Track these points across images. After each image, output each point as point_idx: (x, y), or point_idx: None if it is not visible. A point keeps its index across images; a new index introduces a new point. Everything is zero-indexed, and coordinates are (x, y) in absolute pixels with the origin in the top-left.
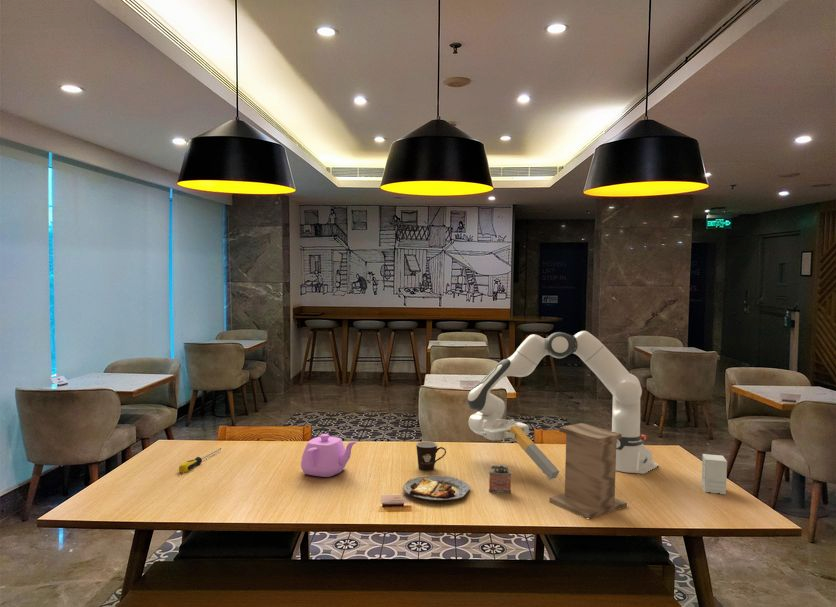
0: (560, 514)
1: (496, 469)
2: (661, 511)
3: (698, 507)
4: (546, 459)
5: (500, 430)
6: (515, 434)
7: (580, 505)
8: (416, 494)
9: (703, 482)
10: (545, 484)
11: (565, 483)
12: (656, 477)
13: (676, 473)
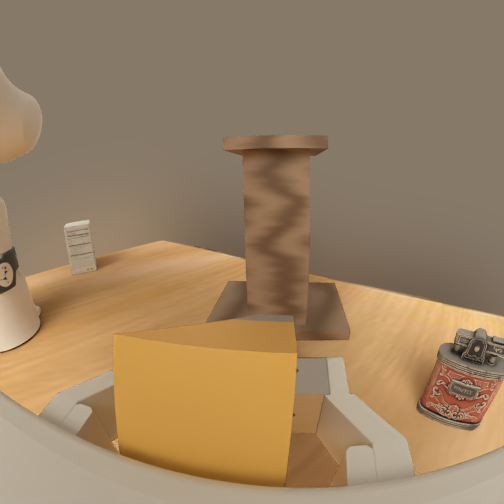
0: (366, 307)
1: (491, 354)
2: (207, 272)
3: (159, 264)
4: (265, 316)
5: (496, 460)
6: (309, 359)
7: (316, 297)
8: None
9: (84, 262)
10: None
11: (307, 295)
12: (52, 300)
13: None
